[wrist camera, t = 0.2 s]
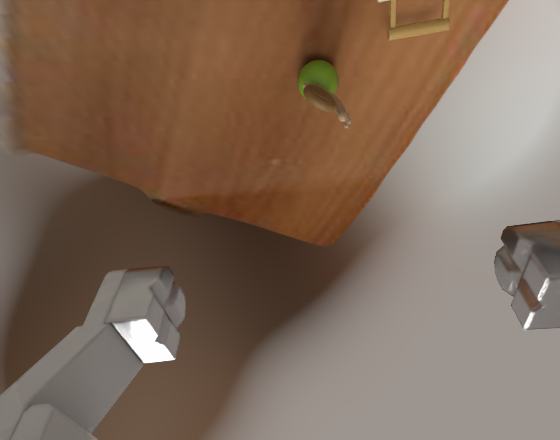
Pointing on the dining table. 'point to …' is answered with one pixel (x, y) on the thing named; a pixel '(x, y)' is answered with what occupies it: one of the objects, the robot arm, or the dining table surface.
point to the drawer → (417, 24)
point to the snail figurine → (321, 88)
